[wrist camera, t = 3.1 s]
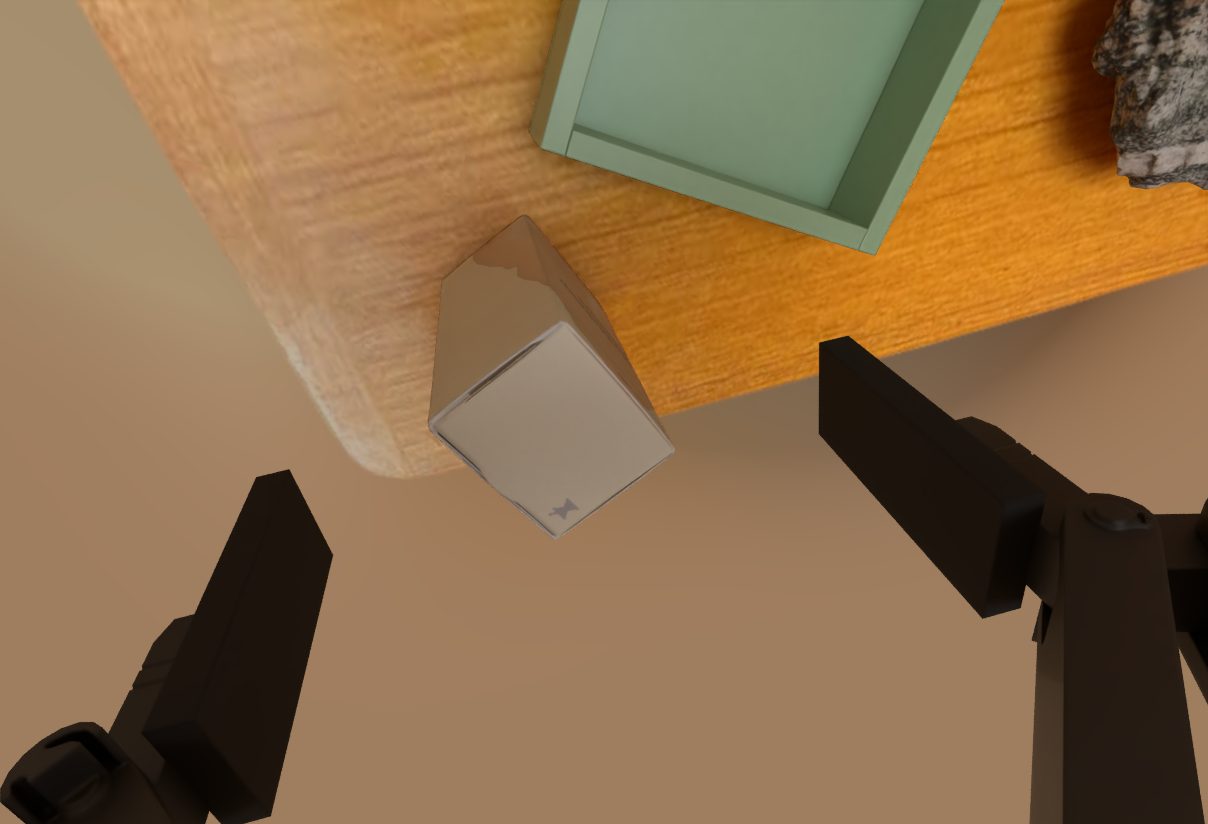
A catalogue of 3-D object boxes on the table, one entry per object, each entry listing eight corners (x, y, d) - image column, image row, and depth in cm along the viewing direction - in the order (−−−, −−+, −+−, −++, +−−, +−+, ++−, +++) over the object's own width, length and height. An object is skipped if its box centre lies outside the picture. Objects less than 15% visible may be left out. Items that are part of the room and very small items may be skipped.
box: (604, 308, 27) (687, 460, 18) (522, 372, 28) (559, 552, 18) (520, 204, 24) (565, 317, 15) (431, 278, 25) (420, 431, 16)
